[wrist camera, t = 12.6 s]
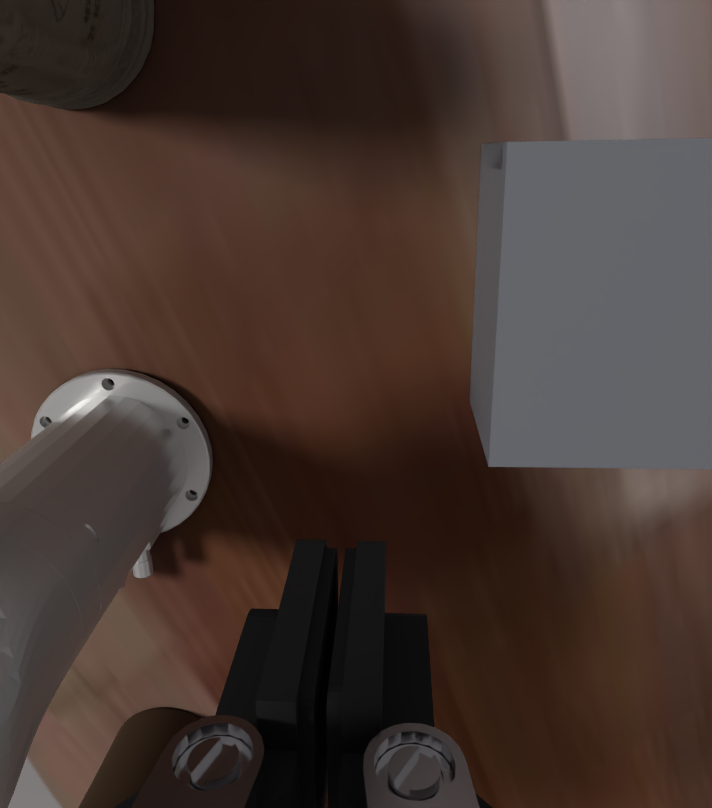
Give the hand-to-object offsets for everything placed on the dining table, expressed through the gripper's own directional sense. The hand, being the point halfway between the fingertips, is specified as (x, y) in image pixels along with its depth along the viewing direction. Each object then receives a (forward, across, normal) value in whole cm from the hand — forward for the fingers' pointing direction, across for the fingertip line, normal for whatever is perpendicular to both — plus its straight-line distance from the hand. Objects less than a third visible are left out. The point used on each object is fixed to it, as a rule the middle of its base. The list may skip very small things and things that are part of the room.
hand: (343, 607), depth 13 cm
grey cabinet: (+32, -16, 0) cm, 36 cm away
